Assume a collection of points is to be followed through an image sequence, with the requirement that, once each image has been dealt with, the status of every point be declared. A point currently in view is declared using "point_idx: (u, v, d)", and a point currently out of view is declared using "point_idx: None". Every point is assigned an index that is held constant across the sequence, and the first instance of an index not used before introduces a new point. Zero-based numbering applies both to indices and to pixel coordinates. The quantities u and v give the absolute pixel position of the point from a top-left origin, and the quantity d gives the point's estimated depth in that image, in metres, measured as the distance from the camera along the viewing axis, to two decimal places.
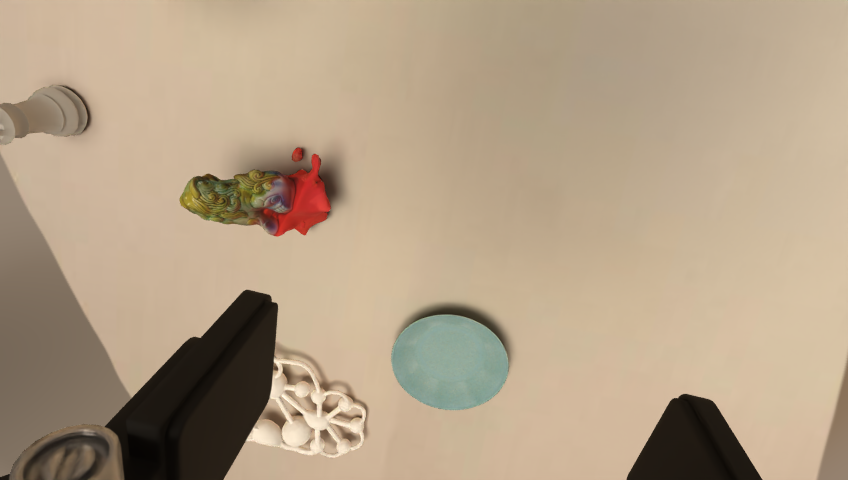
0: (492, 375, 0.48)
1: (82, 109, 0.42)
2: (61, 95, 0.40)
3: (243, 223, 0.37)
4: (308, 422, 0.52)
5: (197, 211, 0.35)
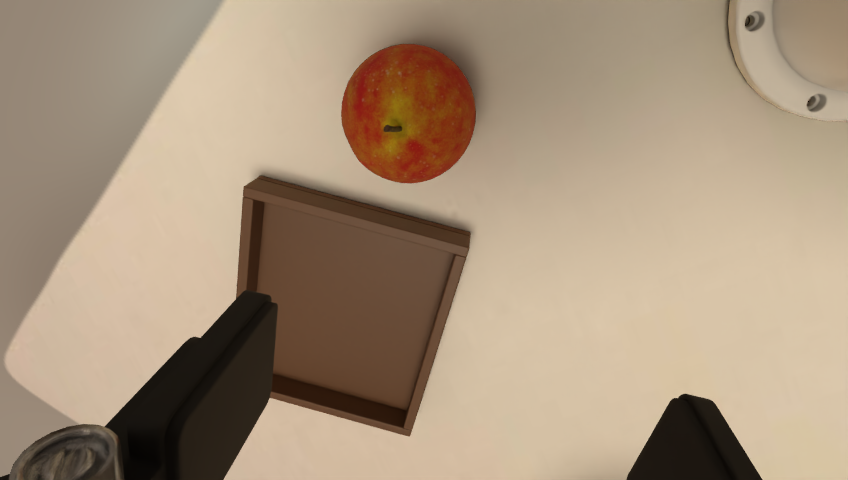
0: None
1: None
2: None
3: None
4: None
5: None
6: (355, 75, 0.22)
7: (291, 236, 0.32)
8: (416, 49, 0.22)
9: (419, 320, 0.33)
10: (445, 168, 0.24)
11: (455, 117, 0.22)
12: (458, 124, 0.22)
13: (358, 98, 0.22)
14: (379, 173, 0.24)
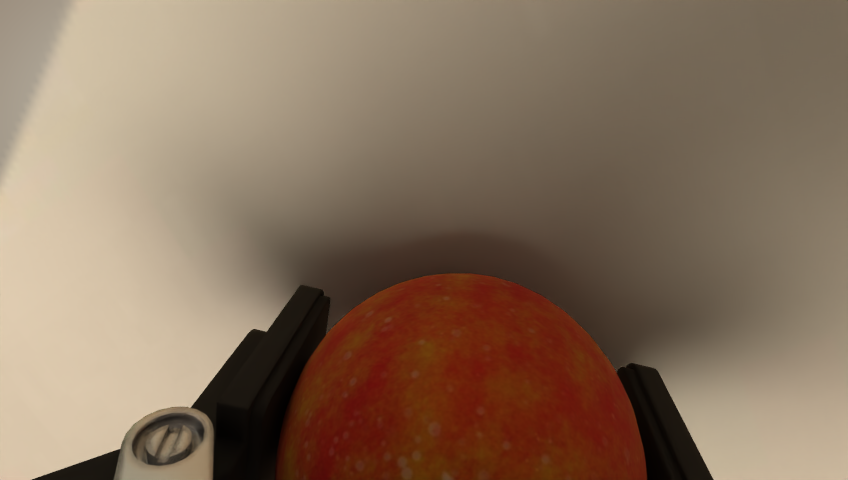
0: None
1: None
2: None
3: None
4: None
5: None
6: (305, 421, 0.07)
7: None
8: (491, 349, 0.07)
9: None
10: None
11: None
12: None
13: None
14: None
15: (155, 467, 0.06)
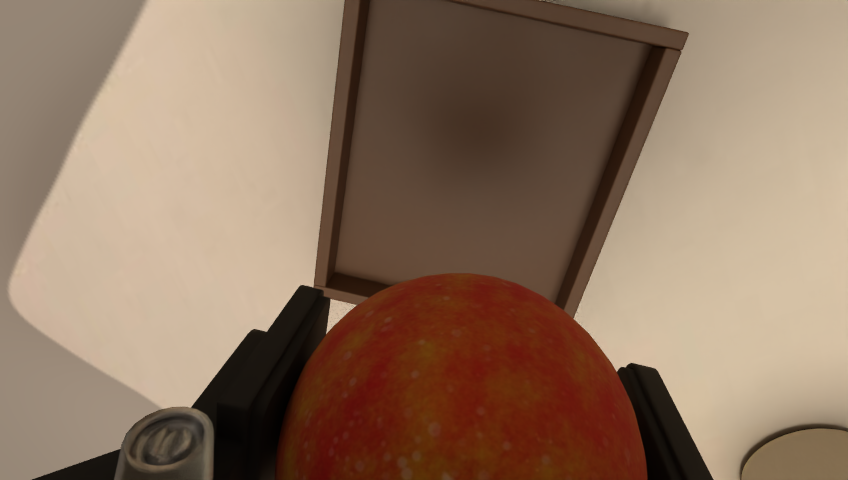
0: None
1: None
2: None
3: None
4: None
5: None
6: (304, 421, 0.07)
7: (405, 60, 0.22)
8: (491, 350, 0.07)
9: (580, 180, 0.24)
10: None
11: None
12: None
13: None
14: None
15: (155, 467, 0.06)
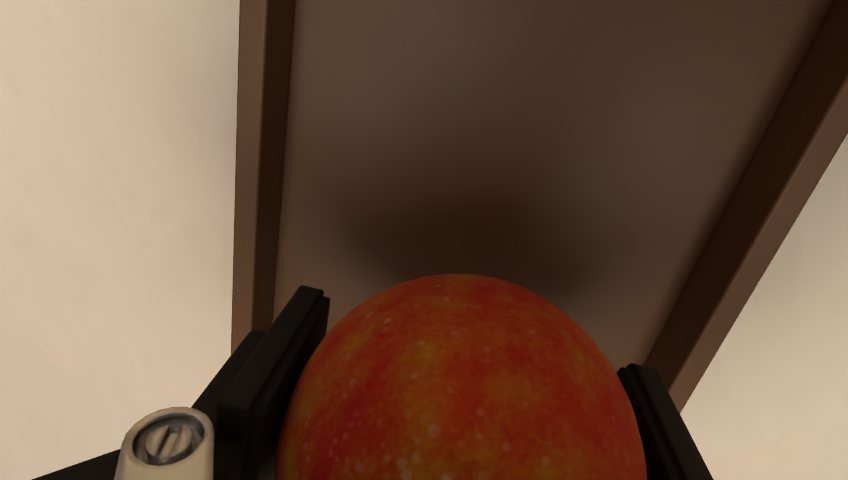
0: None
1: None
2: None
3: None
4: None
5: None
6: (304, 422, 0.07)
7: None
8: (491, 351, 0.07)
9: (695, 193, 0.13)
10: None
11: None
12: None
13: None
14: None
15: (155, 467, 0.06)
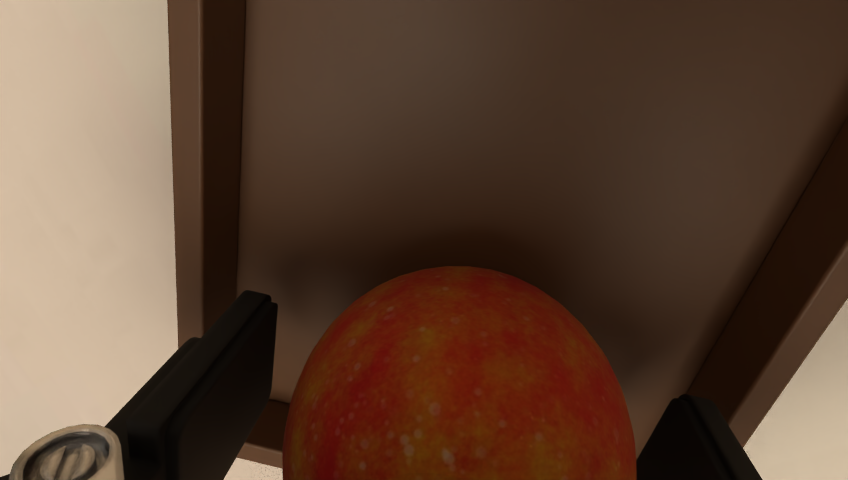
0: None
1: None
2: None
3: None
4: None
5: None
6: (311, 404, 0.08)
7: None
8: (488, 335, 0.07)
9: (732, 232, 0.11)
10: None
11: None
12: None
13: None
14: None
15: None
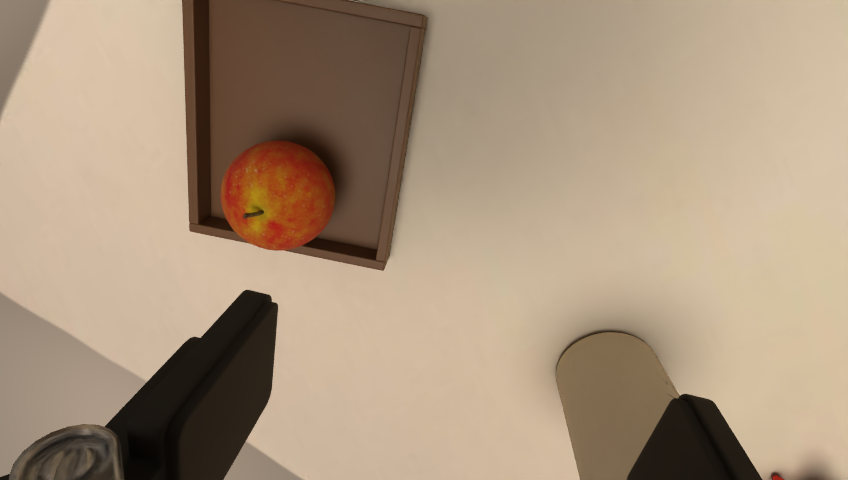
0: None
1: None
2: None
3: None
4: None
5: None
6: (226, 171, 0.28)
7: (240, 43, 0.30)
8: (273, 148, 0.28)
9: (383, 132, 0.31)
10: (309, 237, 0.29)
11: (305, 200, 0.27)
12: (309, 205, 0.28)
13: (227, 190, 0.27)
14: (255, 245, 0.29)
15: None
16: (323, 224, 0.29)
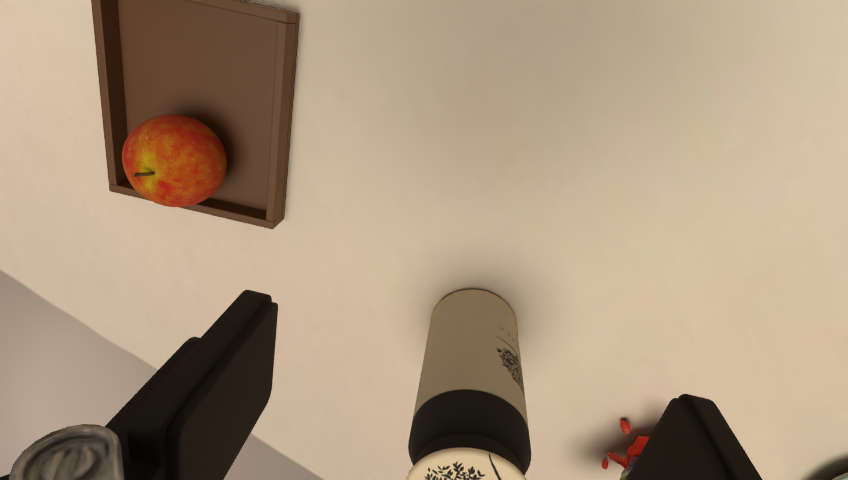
0: None
1: None
2: None
3: None
4: None
5: None
6: None
7: (145, 31, 0.35)
8: (164, 120, 0.33)
9: (268, 110, 0.37)
10: (198, 196, 0.35)
11: (189, 164, 0.33)
12: (193, 168, 0.33)
13: (124, 154, 0.33)
14: (153, 201, 0.35)
15: None
16: (211, 186, 0.35)
